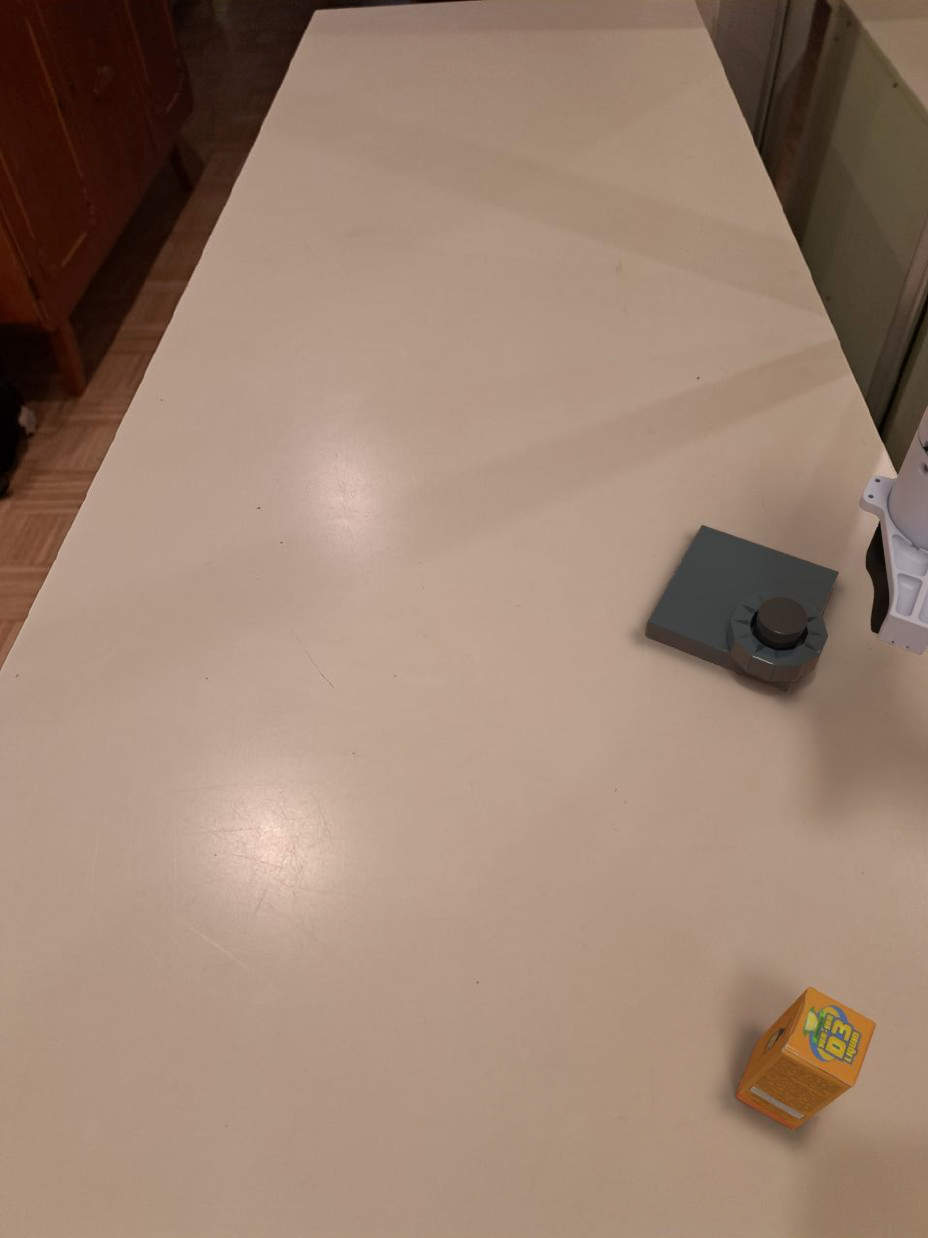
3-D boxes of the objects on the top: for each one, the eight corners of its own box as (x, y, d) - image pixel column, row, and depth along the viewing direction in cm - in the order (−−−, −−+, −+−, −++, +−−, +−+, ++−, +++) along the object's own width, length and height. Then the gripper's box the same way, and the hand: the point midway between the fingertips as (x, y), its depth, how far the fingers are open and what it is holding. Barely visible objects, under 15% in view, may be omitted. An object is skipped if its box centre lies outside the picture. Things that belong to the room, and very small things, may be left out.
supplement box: (799, 1138, 47) (854, 1094, 39) (733, 1098, 48) (772, 1047, 40) (823, 1075, 48) (879, 1020, 40) (757, 1037, 50) (800, 978, 42)
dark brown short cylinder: (807, 623, 62) (814, 606, 60) (793, 657, 60) (799, 640, 59) (762, 606, 63) (767, 590, 61) (747, 639, 61) (752, 623, 60)
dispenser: (846, 591, 67) (860, 558, 64) (797, 709, 61) (810, 679, 59) (698, 539, 71) (705, 506, 68) (639, 646, 65) (644, 615, 62)
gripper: (933, 325, 46) (856, 517, 57) (846, 521, 39) (777, 699, 50) (1091, 365, 44) (980, 558, 55) (1030, 582, 37) (916, 755, 48)
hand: (892, 629), depth 52 cm, fingers closed
